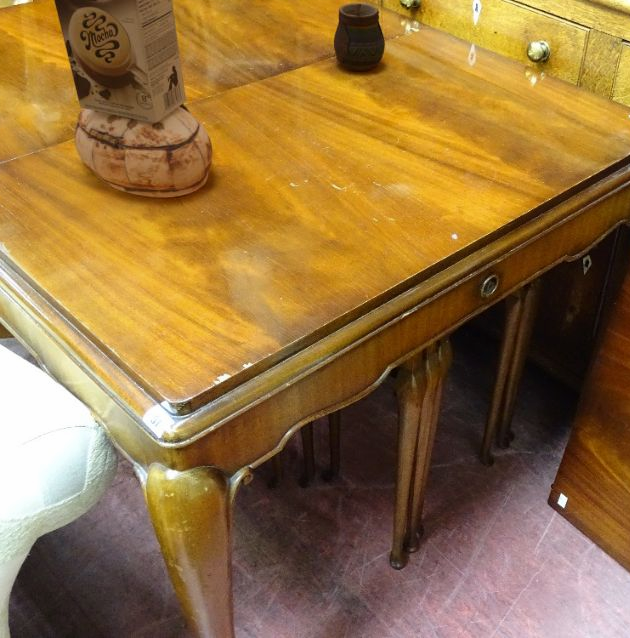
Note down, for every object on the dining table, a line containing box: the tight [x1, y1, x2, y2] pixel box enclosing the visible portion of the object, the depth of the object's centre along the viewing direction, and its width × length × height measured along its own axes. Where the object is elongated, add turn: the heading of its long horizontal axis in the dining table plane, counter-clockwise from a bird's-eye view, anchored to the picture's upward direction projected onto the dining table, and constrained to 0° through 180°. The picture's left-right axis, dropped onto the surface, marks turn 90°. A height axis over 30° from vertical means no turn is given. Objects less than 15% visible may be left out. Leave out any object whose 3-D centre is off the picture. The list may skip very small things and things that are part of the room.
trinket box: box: [74, 103, 213, 198], centre depth 83 cm, size 13×15×8 cm
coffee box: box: [53, 0, 187, 123], centre depth 75 cm, size 9×6×16 cm
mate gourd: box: [333, 2, 386, 72], centre depth 108 cm, size 7×8×10 cm
